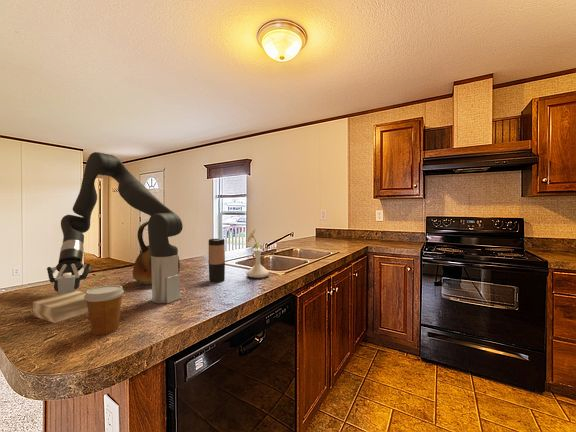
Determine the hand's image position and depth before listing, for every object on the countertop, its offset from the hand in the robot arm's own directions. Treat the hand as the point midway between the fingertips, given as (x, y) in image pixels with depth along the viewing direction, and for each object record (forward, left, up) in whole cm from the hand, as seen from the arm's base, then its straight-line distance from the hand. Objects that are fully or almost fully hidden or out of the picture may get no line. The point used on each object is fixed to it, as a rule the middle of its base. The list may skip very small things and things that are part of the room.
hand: (66, 289), depth 103 cm
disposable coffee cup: (-38, +9, -5) cm, 40 cm away
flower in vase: (-46, -61, -5) cm, 77 cm away
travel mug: (-32, -47, -5) cm, 57 cm away
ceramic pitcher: (-8, -33, -5) cm, 34 cm away
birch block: (-12, +6, -5) cm, 15 cm away
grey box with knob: (+2, -1, -4) cm, 5 cm away
